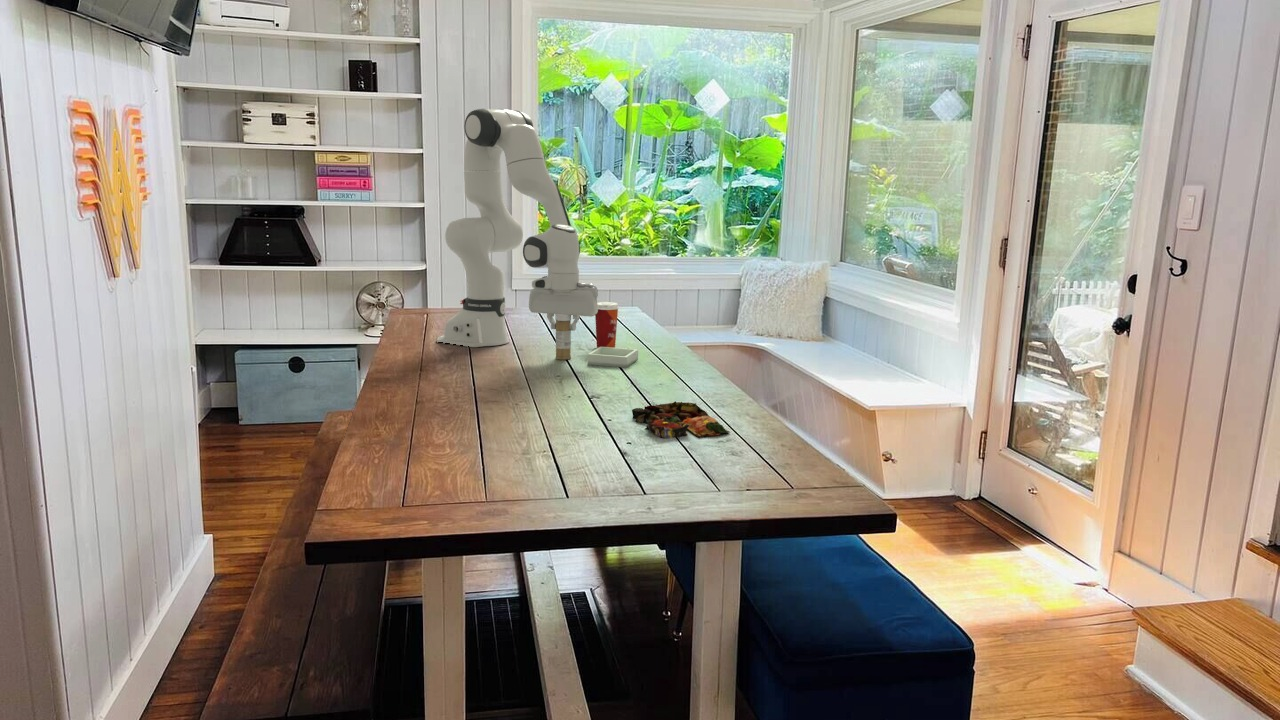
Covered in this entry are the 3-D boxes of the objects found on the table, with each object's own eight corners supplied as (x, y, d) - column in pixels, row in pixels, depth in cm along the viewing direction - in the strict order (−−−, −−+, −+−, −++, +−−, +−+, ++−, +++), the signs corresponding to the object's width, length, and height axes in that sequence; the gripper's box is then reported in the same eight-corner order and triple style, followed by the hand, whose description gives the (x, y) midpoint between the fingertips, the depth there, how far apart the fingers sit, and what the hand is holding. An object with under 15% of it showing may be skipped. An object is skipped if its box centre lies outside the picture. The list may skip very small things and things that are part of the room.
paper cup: (617, 351, 282) (618, 305, 279) (592, 350, 282) (593, 305, 279) (618, 346, 290) (619, 301, 287) (594, 345, 290) (594, 301, 287)
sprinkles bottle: (567, 356, 273) (567, 311, 270) (573, 359, 269) (573, 314, 266) (553, 357, 271) (553, 312, 268) (558, 360, 267) (558, 314, 264)
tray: (587, 364, 263) (587, 354, 262) (600, 356, 274) (600, 346, 273) (626, 367, 260) (626, 357, 259) (637, 359, 271) (638, 349, 270)
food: (622, 416, 212) (622, 401, 211) (696, 411, 219) (697, 397, 218) (657, 444, 192) (657, 428, 191) (737, 438, 199) (738, 422, 198)
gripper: (601, 282, 265) (600, 330, 268) (534, 279, 271) (535, 325, 273) (594, 285, 259) (593, 333, 262) (526, 281, 265) (526, 329, 268)
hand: (563, 329), depth 268 cm, fingers closed on sprinkles bottle, 4 cm apart
